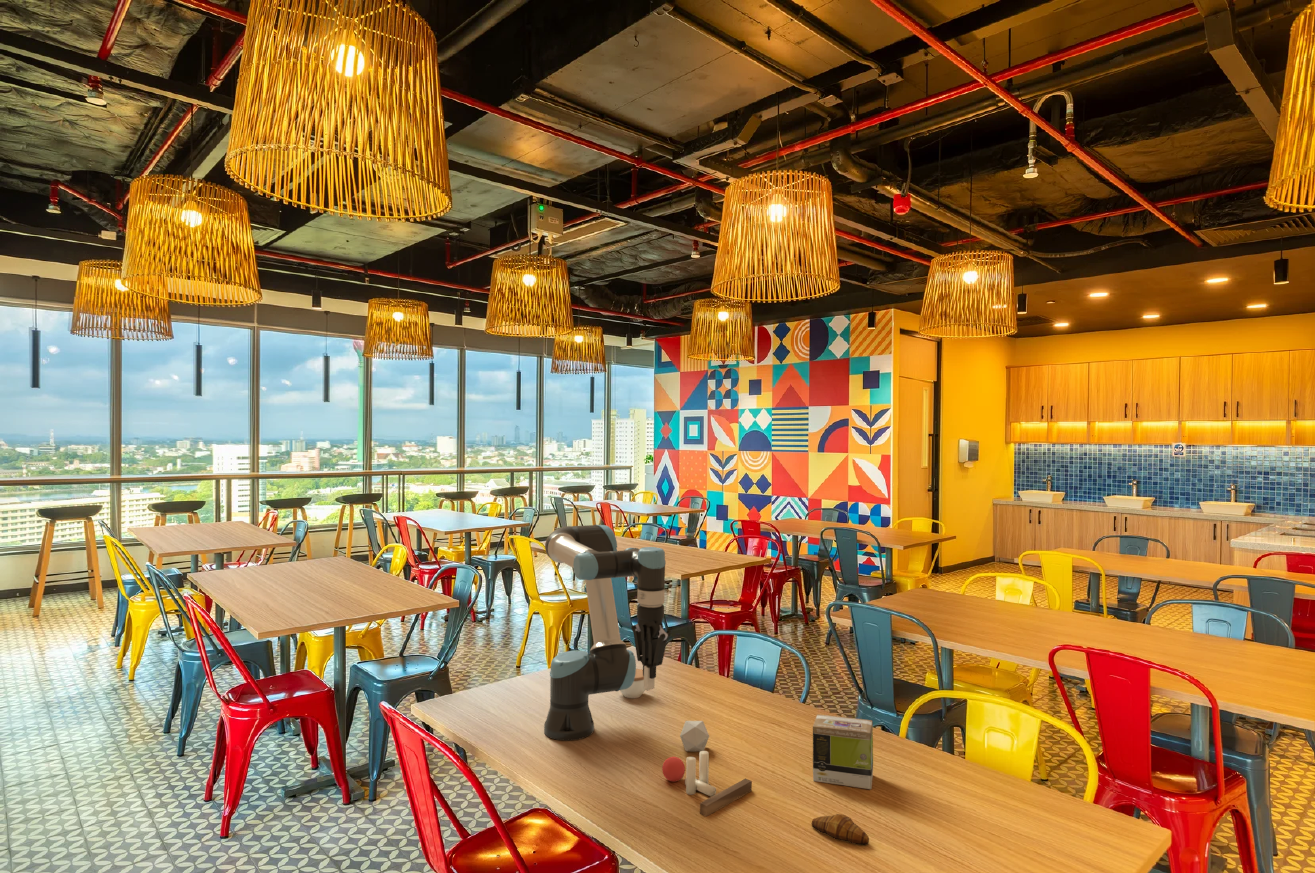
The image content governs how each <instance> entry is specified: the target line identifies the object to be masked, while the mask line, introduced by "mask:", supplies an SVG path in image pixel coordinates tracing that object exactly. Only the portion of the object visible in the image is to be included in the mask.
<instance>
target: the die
mask: <svg viewBox="0 0 1315 873" xmlns="http://www.w3.org/2000/svg"><path fill="white" fill-rule="evenodd" d="M679 737H680V739H681V742H682V745H683V747H684V750H685V752H700V751H705V749H706V746H707V744H708V741H709V738H710V735H709V732H708V730H707V727H706V725H705V722H704V720H685V721H684V724H683V727H682V730H681V732H680V735H679Z"/></svg>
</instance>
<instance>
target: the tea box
mask: <svg viewBox="0 0 1315 873" xmlns="http://www.w3.org/2000/svg"><path fill="white" fill-rule="evenodd" d="M873 725H874V724H873V720H871V719H863V718H854V717H847V716H846V717H845V716H837V715H836V716H835V715H826V714H818V713H817V714H816V717H815V719H814V722H813V725H812V780H813V782H820V783H825V784H826V783H827V784H832V785H839V786H846V787H853V788H859V789H865V790H872V788H873V787H872V786H873V776H874V775H873V774H874V734H873V733H874V732H873V730H874V729H873Z"/></svg>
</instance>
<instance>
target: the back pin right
mask: <svg viewBox="0 0 1315 873" xmlns="http://www.w3.org/2000/svg"><path fill="white" fill-rule="evenodd" d="M685 761H686V763H685V764H686V767H685V772H686V773H685V774H686V775H685V779H686V785H685V793H686V794H687V795H695V794H696V791H697V790H696V779H697V778H696V777H697V774H696V773H697V770H696V769H697V768H696V767H697V758H696V757H694V756H687V757H686V760H685Z"/></svg>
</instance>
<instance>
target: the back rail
mask: <svg viewBox="0 0 1315 873" xmlns="http://www.w3.org/2000/svg"><path fill="white" fill-rule="evenodd" d="M752 782H753V781H752V780H751V779H747V778H744V779H742V780H739V781H738V782H736V783H734V784H732V785H731V786H729V787H727V788H725V789H723V790H721V791H720V792H718V793H716V794H715V795H714V796H712V797H711V796H709V797H708V798H707V799H705V800H702V802H700V803H699V814H700V815H702V816H704V817H708V816H710V815H712V814H713V813H715V812H717V811H719V810H720V809H722V808H723V807H726V806H727V805H729V804H731V803H733V802H734V801H736V800H738V799H740V798H742V797H743V796H745V795H747V794H749V793H750V792H752V789H753V788H752V787H753V785H752Z"/></svg>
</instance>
